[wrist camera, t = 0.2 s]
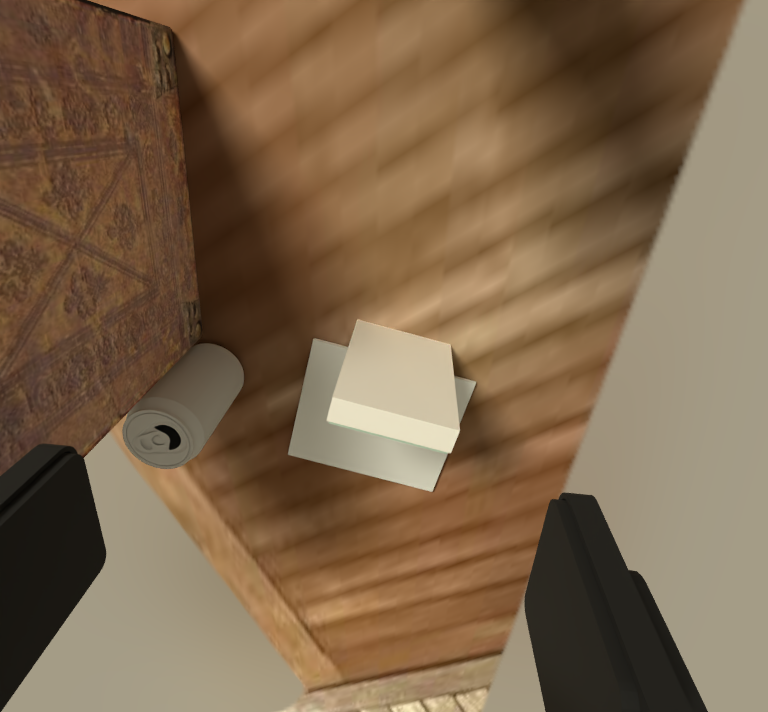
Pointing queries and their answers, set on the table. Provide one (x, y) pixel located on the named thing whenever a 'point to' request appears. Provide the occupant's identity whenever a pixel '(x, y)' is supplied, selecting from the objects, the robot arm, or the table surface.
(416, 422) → the glazed tile
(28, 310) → the book
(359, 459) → the mat
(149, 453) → the beverage can
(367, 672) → the table surface
